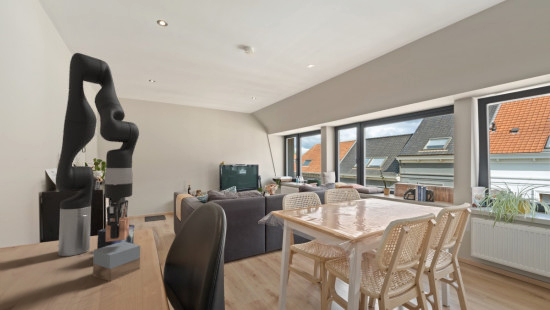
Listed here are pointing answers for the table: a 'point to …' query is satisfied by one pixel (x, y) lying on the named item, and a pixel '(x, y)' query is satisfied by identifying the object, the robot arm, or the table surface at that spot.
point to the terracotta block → (122, 230)
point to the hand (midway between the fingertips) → (117, 235)
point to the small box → (103, 242)
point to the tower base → (116, 270)
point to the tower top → (116, 254)
